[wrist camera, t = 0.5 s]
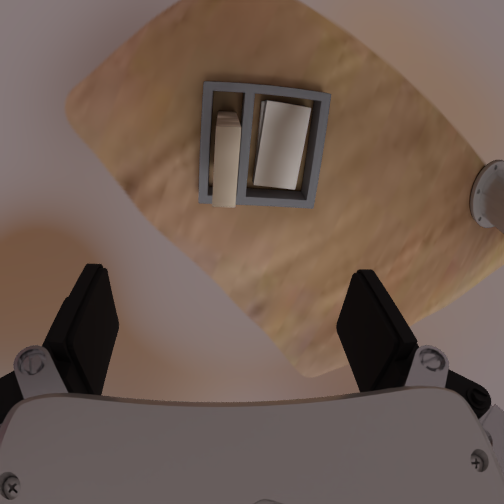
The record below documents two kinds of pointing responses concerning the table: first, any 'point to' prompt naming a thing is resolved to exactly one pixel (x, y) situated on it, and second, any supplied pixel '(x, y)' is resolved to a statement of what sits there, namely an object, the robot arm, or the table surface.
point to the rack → (248, 194)
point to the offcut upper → (280, 144)
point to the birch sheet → (226, 159)
